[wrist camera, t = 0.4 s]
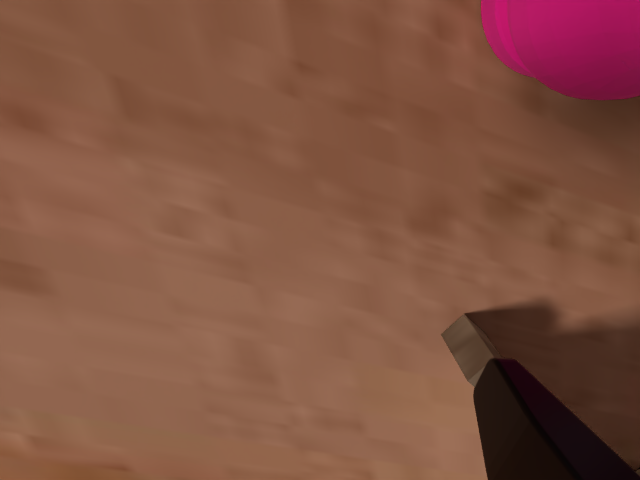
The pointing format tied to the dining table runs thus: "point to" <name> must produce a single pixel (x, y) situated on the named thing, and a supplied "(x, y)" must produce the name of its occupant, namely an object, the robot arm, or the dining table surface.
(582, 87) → the pepper mill
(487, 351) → the gate frame
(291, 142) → the dining table surface
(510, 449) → the robot arm
